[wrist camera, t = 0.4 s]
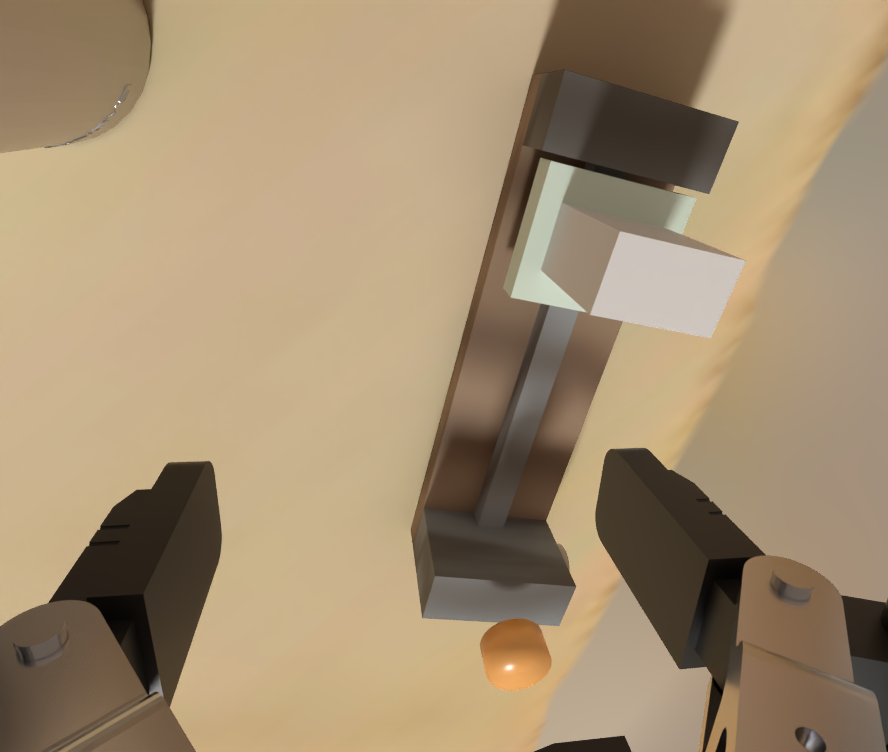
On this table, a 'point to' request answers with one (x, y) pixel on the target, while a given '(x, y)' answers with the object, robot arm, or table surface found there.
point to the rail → (536, 361)
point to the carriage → (617, 253)
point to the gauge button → (515, 654)
